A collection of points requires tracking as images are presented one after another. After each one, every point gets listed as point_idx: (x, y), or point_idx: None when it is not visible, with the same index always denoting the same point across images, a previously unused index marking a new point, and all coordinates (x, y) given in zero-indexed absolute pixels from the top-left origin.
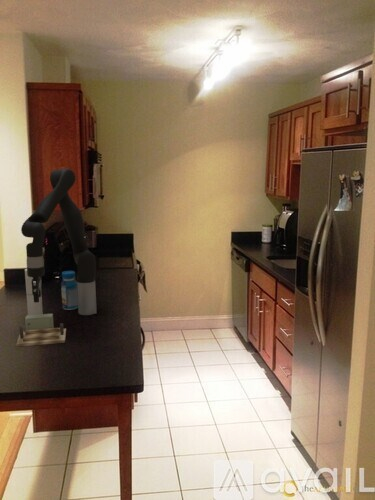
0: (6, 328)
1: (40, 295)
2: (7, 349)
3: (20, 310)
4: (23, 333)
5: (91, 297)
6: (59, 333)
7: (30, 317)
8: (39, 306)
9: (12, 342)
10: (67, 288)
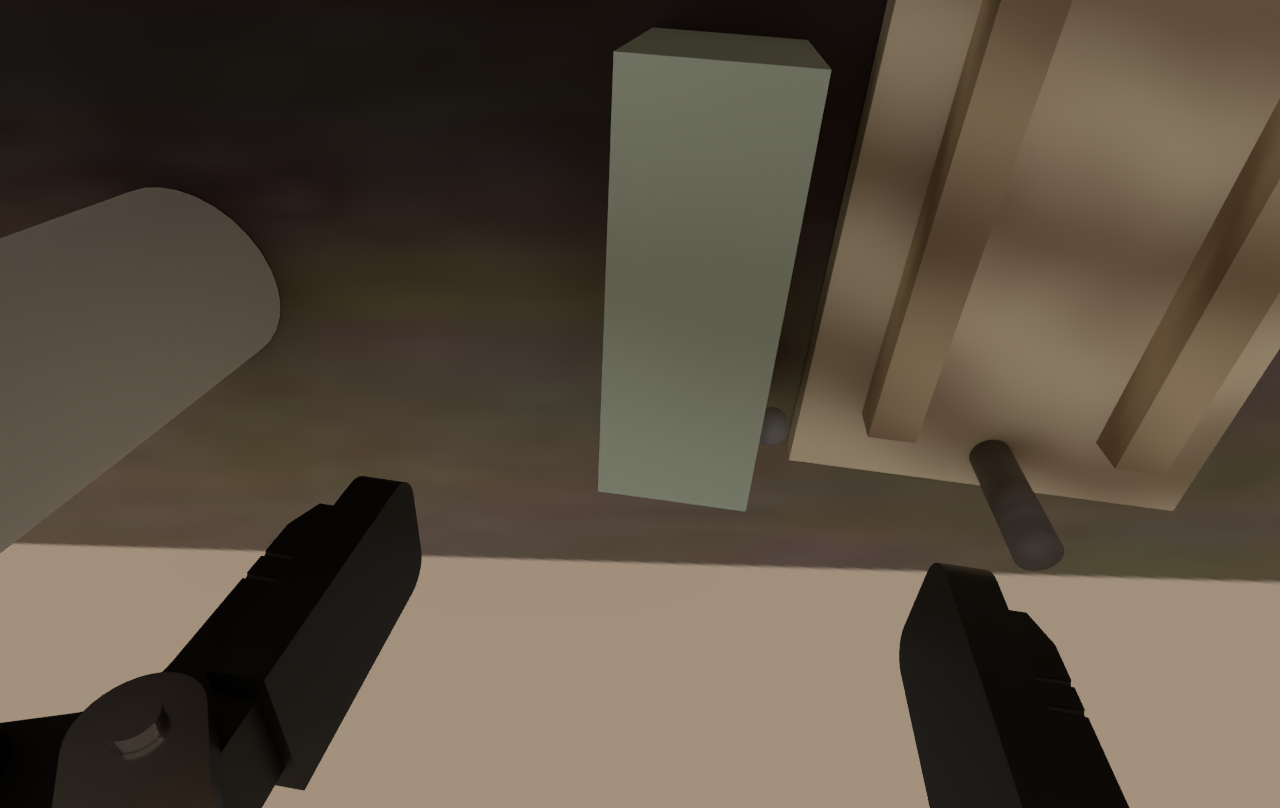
0: (549, 546)
1: (388, 506)
2: (1167, 558)
3: None
4: (852, 436)
5: None
6: None
7: (718, 446)
8: (108, 286)
9: (988, 516)
10: None
